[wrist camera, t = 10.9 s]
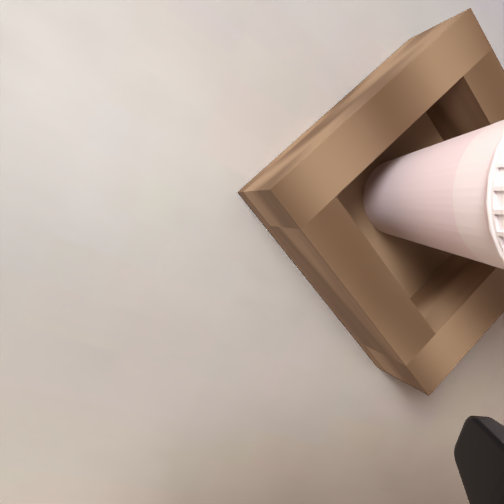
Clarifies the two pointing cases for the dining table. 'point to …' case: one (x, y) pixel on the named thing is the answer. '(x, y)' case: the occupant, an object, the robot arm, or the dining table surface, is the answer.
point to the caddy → (357, 223)
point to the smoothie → (445, 196)
